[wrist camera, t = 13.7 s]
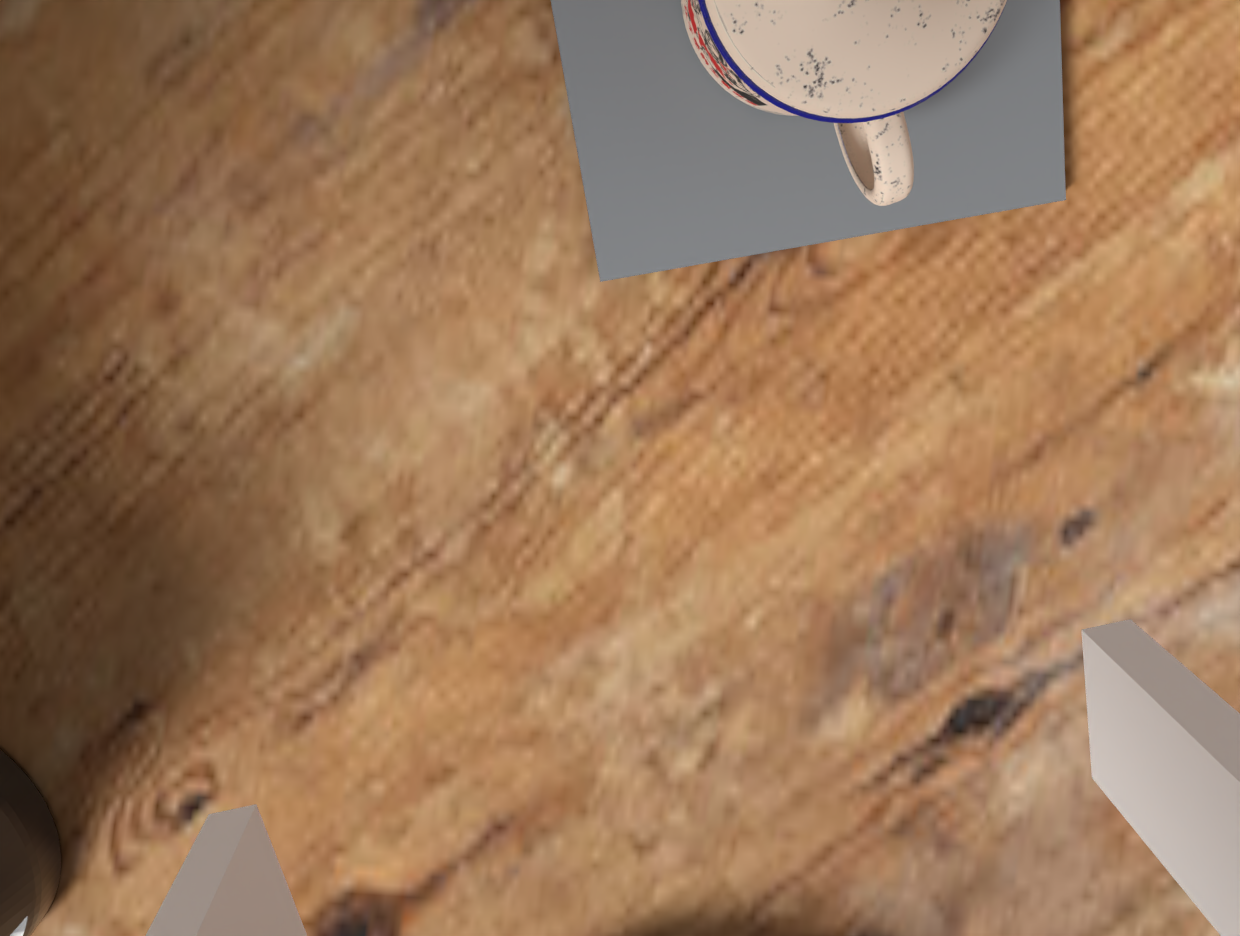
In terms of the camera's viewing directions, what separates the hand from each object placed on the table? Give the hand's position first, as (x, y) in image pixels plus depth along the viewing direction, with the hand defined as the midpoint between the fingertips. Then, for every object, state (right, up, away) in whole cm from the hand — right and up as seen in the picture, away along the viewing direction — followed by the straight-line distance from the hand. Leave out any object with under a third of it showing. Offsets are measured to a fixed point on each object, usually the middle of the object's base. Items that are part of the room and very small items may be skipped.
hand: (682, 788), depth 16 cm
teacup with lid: (+6, +21, +21) cm, 30 cm away
